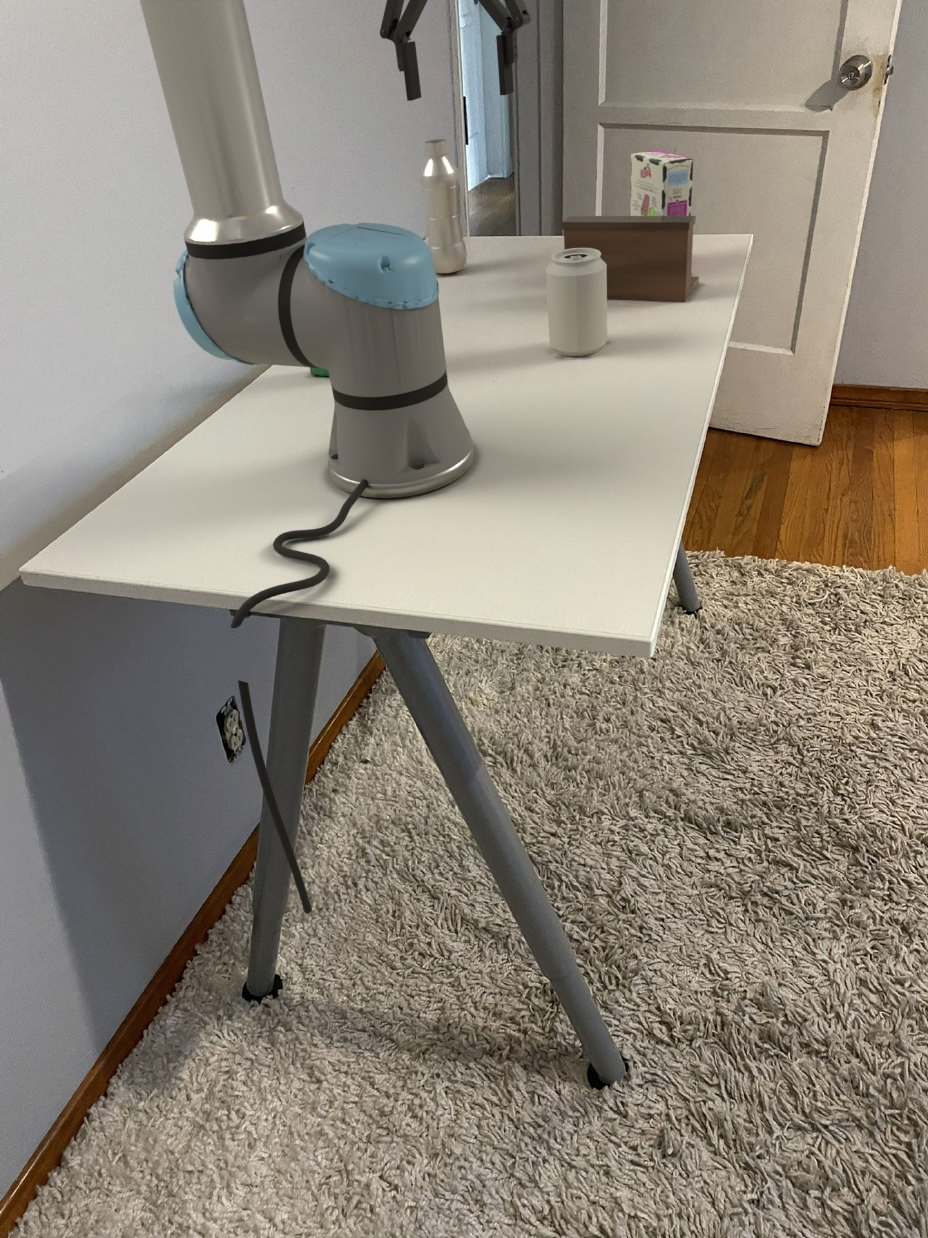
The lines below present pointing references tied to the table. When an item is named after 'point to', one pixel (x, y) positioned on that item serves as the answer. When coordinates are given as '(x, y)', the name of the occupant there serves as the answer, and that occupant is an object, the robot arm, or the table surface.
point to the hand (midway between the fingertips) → (459, 96)
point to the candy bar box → (661, 184)
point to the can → (577, 301)
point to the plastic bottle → (442, 208)
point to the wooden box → (639, 253)
